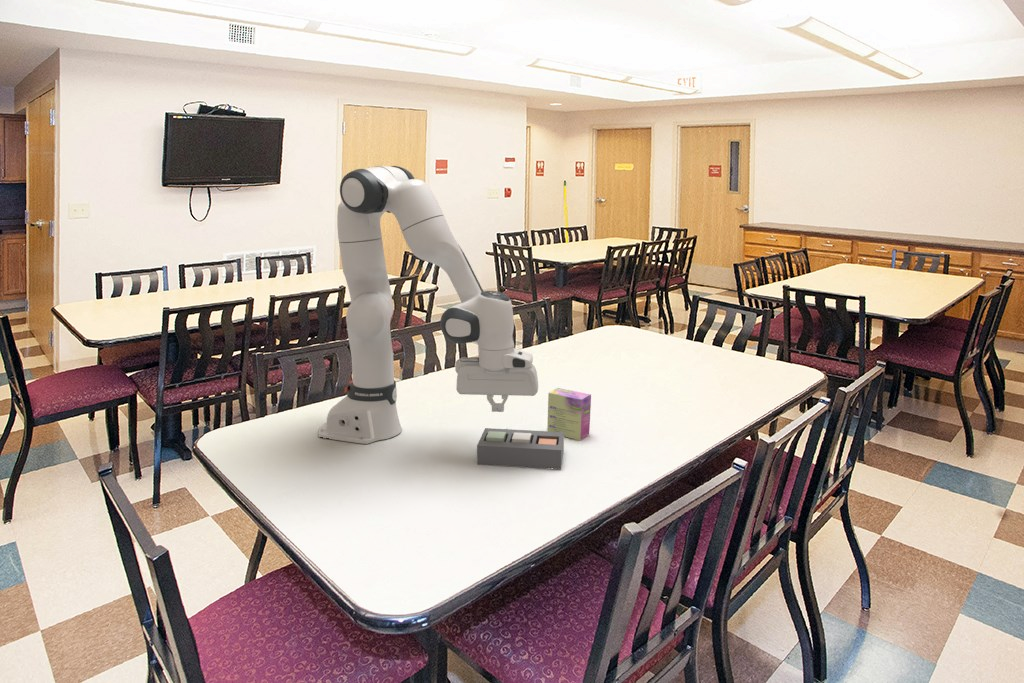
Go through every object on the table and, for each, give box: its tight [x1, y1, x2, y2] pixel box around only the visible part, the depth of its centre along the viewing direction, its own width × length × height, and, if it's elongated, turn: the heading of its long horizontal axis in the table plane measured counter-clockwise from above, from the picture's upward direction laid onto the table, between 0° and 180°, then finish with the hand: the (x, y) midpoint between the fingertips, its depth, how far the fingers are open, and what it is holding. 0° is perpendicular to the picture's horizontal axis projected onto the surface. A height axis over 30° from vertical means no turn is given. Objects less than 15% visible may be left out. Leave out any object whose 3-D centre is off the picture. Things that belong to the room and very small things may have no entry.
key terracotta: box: [538, 438, 557, 445], centre depth 173 cm, size 4×4×2 cm
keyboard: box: [476, 427, 565, 470], centre depth 174 cm, size 21×12×5 cm, turn 83°
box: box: [546, 387, 592, 441], centre depth 189 cm, size 10×6×12 cm, turn 58°
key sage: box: [486, 431, 506, 442], centre depth 174 cm, size 4×4×2 cm
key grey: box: [512, 432, 531, 443], centre depth 173 cm, size 4×4×2 cm
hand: (498, 411), depth 172 cm, fingers closed
